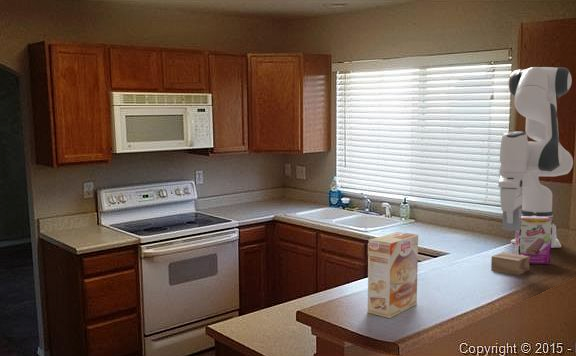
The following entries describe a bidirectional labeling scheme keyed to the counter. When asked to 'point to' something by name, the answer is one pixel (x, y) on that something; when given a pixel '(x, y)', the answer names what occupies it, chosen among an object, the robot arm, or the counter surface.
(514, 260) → the tan block
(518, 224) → the grey plastic block
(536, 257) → the candy bar box
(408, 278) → the coffeecake box
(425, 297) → the counter surface
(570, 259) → the counter surface
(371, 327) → the counter surface
